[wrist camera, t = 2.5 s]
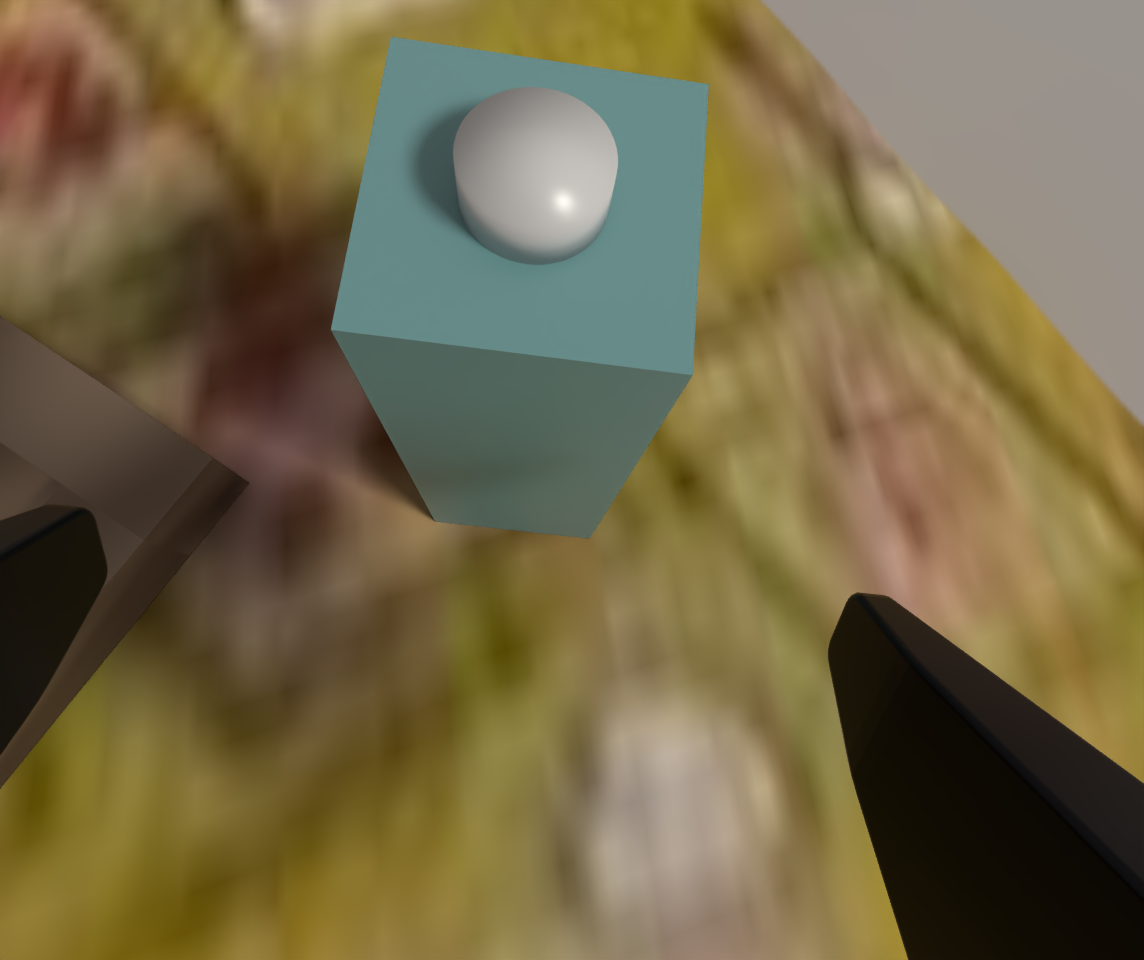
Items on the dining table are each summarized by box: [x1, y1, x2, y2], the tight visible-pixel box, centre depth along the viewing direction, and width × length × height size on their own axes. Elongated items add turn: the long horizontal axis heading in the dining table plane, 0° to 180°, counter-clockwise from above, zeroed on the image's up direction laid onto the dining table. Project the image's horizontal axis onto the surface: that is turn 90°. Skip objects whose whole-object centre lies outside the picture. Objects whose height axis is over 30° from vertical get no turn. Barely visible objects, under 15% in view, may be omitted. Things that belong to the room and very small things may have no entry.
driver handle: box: [331, 37, 709, 538], centre depth 15 cm, size 4×4×13 cm
